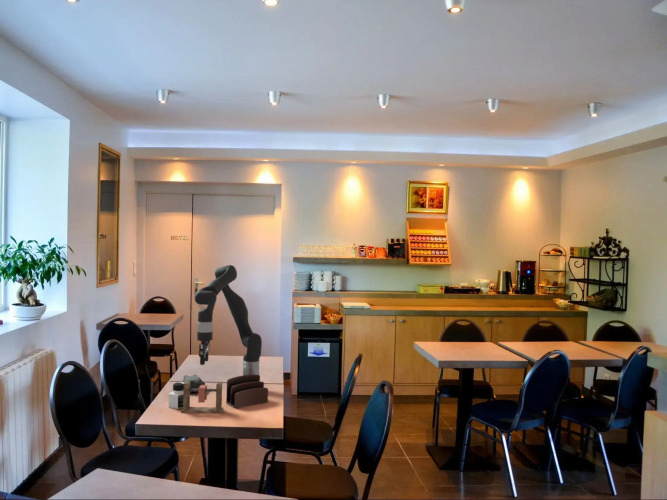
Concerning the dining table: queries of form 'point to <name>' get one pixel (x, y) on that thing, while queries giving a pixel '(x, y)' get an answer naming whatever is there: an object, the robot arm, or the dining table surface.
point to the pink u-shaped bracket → (202, 394)
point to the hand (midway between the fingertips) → (204, 362)
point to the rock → (193, 382)
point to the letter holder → (246, 391)
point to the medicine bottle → (176, 396)
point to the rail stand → (189, 409)
